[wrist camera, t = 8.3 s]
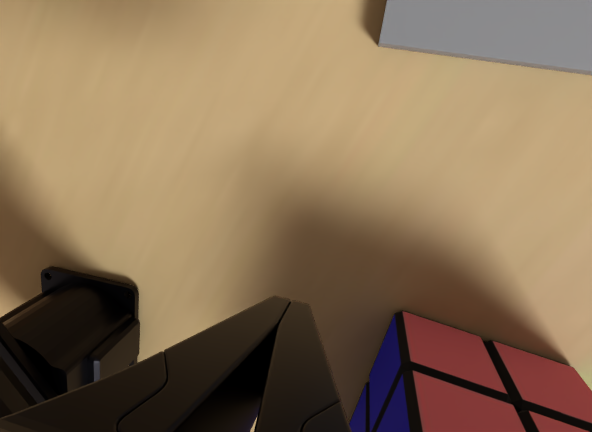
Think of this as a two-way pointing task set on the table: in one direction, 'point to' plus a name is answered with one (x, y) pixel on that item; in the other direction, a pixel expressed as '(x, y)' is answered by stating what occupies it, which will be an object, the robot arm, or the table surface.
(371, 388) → the puzzle cube
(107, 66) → the table surface
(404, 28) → the crank base
